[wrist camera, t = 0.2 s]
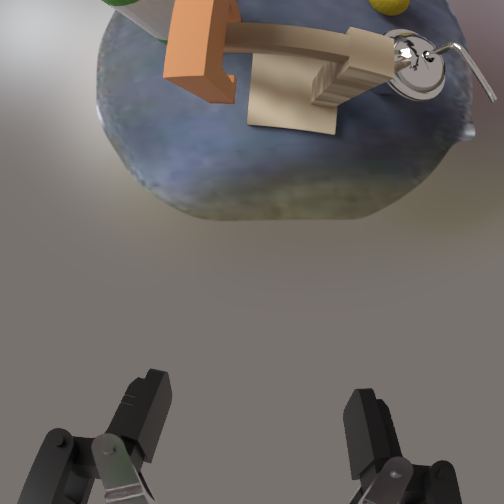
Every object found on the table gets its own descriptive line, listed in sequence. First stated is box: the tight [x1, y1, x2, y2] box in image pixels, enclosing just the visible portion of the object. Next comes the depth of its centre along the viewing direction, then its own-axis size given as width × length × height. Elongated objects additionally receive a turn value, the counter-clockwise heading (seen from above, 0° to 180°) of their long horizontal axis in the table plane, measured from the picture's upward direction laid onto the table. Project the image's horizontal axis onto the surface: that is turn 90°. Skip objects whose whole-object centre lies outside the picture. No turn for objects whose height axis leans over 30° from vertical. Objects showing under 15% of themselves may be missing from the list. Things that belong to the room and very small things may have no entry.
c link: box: [163, 0, 243, 104], centre depth 14 cm, size 8×2×10 cm, turn 176°
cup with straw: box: [370, 29, 497, 103], centre depth 20 cm, size 8×9×20 cm
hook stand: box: [224, 22, 394, 135], centre depth 22 cm, size 10×14×20 cm
